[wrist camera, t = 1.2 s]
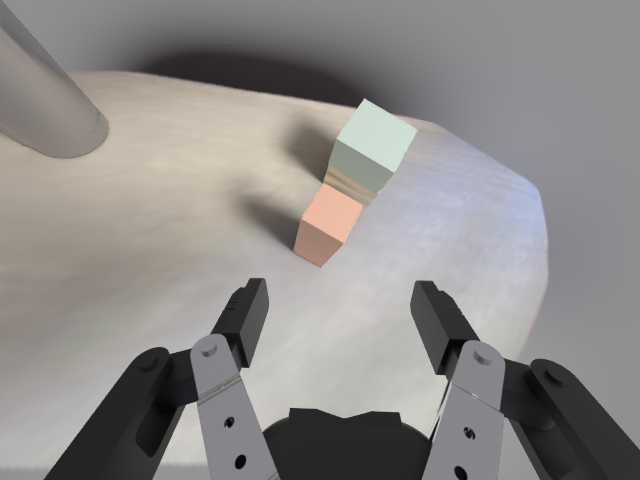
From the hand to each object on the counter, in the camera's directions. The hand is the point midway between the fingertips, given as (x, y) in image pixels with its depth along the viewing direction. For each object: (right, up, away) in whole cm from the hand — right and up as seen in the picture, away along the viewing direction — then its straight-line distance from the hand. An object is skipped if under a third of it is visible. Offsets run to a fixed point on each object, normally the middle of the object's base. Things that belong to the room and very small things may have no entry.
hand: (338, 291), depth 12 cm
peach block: (-2, +2, +20) cm, 21 cm away
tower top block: (+6, +14, +21) cm, 26 cm away
